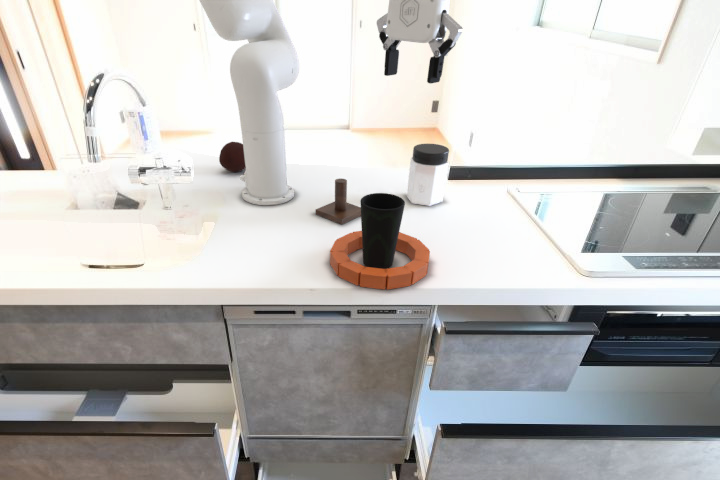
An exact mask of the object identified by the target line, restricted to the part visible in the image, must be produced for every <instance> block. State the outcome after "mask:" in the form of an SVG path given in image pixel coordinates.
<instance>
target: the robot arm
mask: <svg viewBox="0 0 720 480" xmlns="http://www.w3.org/2000/svg"><path fill="white" fill-rule="evenodd" d="M199 2H200V4H201V7H202V8H203V11H204V12H205V14H206V16H207V18H208V20H209V22H210V23H211V27H213V29H214V31H215V32H216V34H217V35H218V36H219V37H220V38H221V39H223V40H226V41H228V42H237V41H238V42H239V41H245V40H247V42H248V43H245V44H243V45H241V46H239V48H237V49H236V50H235V51H234V52H233V54H232V57H231V59H230V62H229V74H230V80H231V84H232V88H233V91H234V94H235V98H236V104H237V108H238V114H239V120H240V121H239V122H240V123H239V124H240V130H241V139H242V144H243V149H244V158H245V167H246V168H245V171H244V173H243V174H241V175H240V176H239V179H240V181H242V182H245V187H244V188H243V189H242V191H241V197H242V199H243V200H244V201H245V202H247V203H250V204H253V205H258V206H274V205H280V204H284V203H287V202H289V201H291V200H292V199H293V198H294V197H295V189H294V188H293V187H292V186H290V185H288V172H287V154H286V137H285V121H284V112H283V109H282V105H281V101H280V99H279V96H278V95H279V94H278V91H282V90H284V89H286V88H289V87H291V86H292V85H293V84H294V83H295V82H296V80H297V79H298V76H299V72H300V61H299V56H298V53H297V51H296V48H295V45H294V43H293V40H292V38H291V36H290V34H289V31H288V30H287V27H286V25H285V23H284V21H283V18H282V16H281V13H280V12H279V10H278V7H277V5H276V3H275V1H274V0H199ZM450 3H451V0H388V7H387V13H385V14H383V15H382V16H381V17H379V18H378V19H377V20H376V27H377V31H378V33H379V35H378V38H379V40H380V41H381V44H382V49H383V50H384V51H385V54H384V55H385V56H384V70H383V71H384V72H383V73H384V74H383V75H384V76H385V77H388V76H389V77H390V76H395V75H397V73H398V68H399V59H400V58H399V57H400V50H399V49H397V48H398V47H399V45H400V44H401V42H409V43H417V44H428V45H429V48H430V50H431V52H432V55H433V56H430V58H429V64H428V70H427V71H428V72H427V78H426V82H427V84H430V85H431V84H437V83H439V82H440V81H441V78H442V75H443V70H444V63H445V57H447V56H448V55H449V53H450V51H451V50H453V49H454V47H456V44H457V41H458V40H459V38H460V37H461V35H462V33H463V31H464V30H463V27H462V25H460V24H459V23H458V21H456V20H455V19H454V18H453V17H452V16H451V15H449V14H450V5H451V4H450ZM447 30H448V31H449V34H448V37H447V39H445V37H446V35H447ZM444 39H445V40H444Z"/></svg>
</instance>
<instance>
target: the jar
mask: <svg viewBox="0 0 720 480" xmlns="http://www.w3.org/2000/svg"><path fill="white" fill-rule="evenodd" d="M449 154H450V149H449V147H447V146H445V145H442V144H438V143H419V144H415V145H414V147H413V149H412V156H411V157H410V163H409V172H408V181H407V188H406V197H407V199H408V200H409V201H410V203H411V204H414V205H420V206H427V207H431V206H434V205H437V204H440V203H443V202H444V196H445V189H446V183H447V177H448V171H449V165H450V163H449V161H448V159H449Z"/></svg>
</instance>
